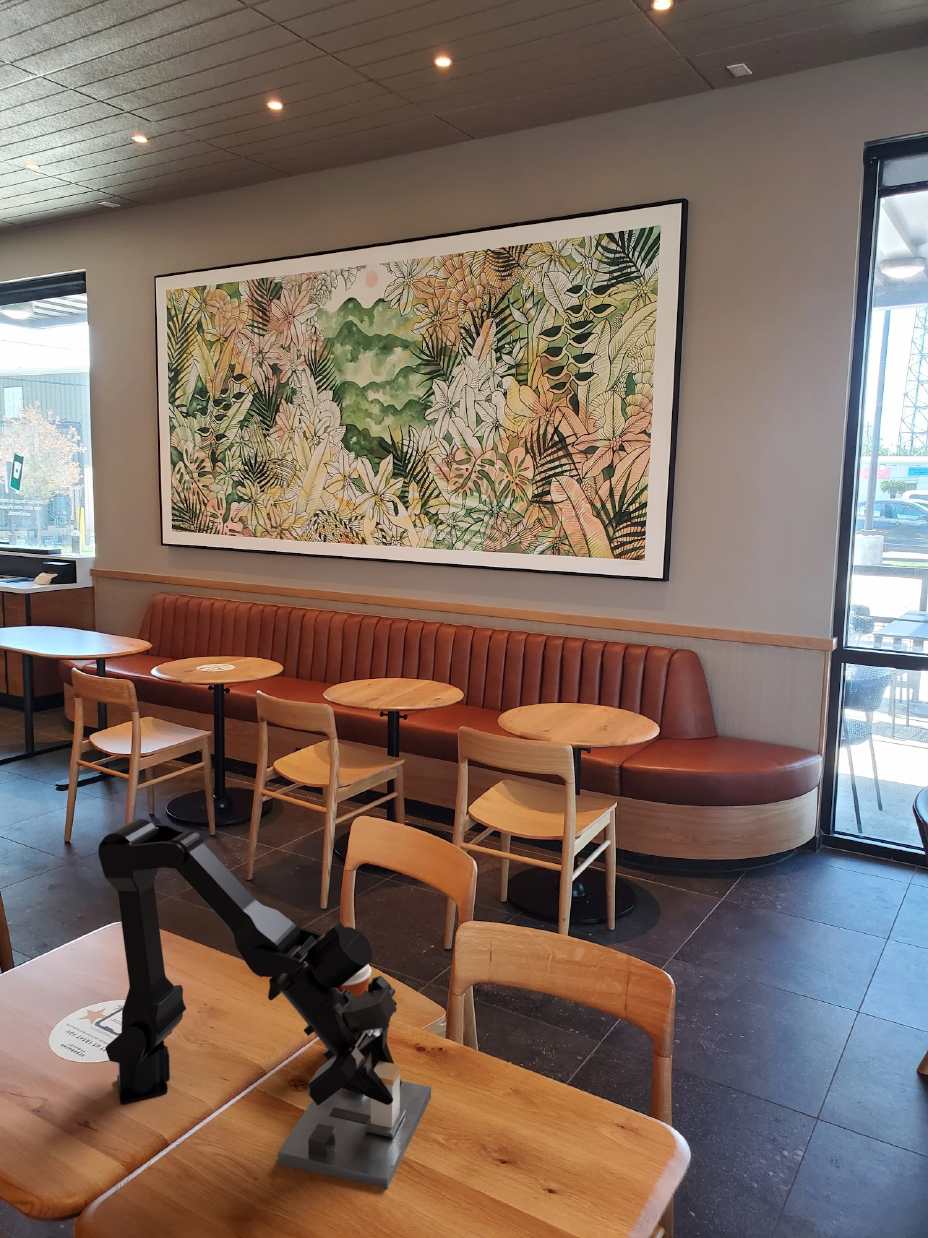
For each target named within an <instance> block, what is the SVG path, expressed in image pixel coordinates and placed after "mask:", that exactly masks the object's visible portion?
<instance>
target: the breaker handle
mask: <svg viewBox="0 0 928 1238" xmlns="http://www.w3.org/2000/svg"><path fill="white" fill-rule="evenodd" d="M374 1071H375V1072H376V1074H377V1075H378V1077H379V1078H380V1079H381V1081H382V1082H383V1083H384V1085H385V1086H386V1088H387V1089H388V1091H389V1092H390V1094H391V1096H392V1097H393V1099H394V1100H393V1102H392V1103H391V1104H389V1105H386V1104H383V1103H381V1102H379V1101H376V1100H374V1099H371V1117H370V1118H369V1120H368V1122H367V1124H366V1126H365V1127H364V1131H367V1132H371V1133H375V1134H380V1135H384V1136H389V1137H393V1136H394V1134H395V1132H396V1130H397V1128H398V1126H399V1124H400V1122H401V1120H402V1118H403V1116H404V1114H405V1109H403V1108H399V1107H400V1079H401V1072H402V1065H401V1064H396V1063H394V1064H392V1063H387V1062H382V1061H379V1062H378V1063H377V1065H376V1067H375V1068H374Z"/></svg>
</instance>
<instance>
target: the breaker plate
mask: <svg viewBox="0 0 928 1238" xmlns="http://www.w3.org/2000/svg"><path fill="white" fill-rule="evenodd" d="M401 1081H402V1085H401V1086H400V1107H399V1108H403V1109H405V1114H404V1116H403V1118H402V1120H401V1122H400V1124H399V1126H398V1128H397V1130H396V1132H395V1134H394V1136H393V1137H389V1136H384V1135H380V1134H375V1133H371V1132H367V1131H364V1127H365V1126H366V1124H367V1122H368V1120H369V1118H370V1117H371V1098H369V1097H367V1096H364V1095H362V1094H359V1093H356V1092H353V1091H350V1090H347V1089H343V1088H341V1089H339V1090H338V1091H337V1092H336V1093H334V1094H333V1095H332V1096H330V1097H329V1098H328V1099H326V1100H325V1101H324V1102H323V1103H321V1104H320V1105H319V1106H317V1105H316V1103H315V1102H314V1101H313V1100H312V1099H311V1100H312V1101H311V1102H310V1103H309V1105H308V1106H307V1107H306V1109H305V1111H304V1112H303V1114H302V1115H301V1117H300V1118H299V1120H298V1121H297V1123H296V1124H295V1126H293V1129H292V1130H291V1132H290V1133H289V1135H288V1136H287V1138H286V1139H285V1141H284V1142H283V1143H282V1146H281V1147H280V1148H279V1150H278V1151H277V1165H278V1166H282V1167H286V1168H289V1169H290V1168H292V1169H295V1170H300V1171H305V1172H308V1173H309V1172H310V1173H314V1174H319V1175H323V1176H328V1177H331V1178H332V1177H333V1178H337V1179H342V1180H347V1181H350V1182H351V1181H352V1182H356V1183H360V1184H364V1185H368V1186H373V1185H374V1187H378V1188H384V1189H388V1188H389V1187H390V1184H391V1182H392V1181H393V1178H394V1176H395V1174H396V1171H397V1170H398V1168H399V1166H400V1164H401V1162H402V1159H403V1157H404V1156H405V1153H406V1151H407V1149H408V1146H409V1144H410V1142H411V1140H412V1139H413V1136H414V1134H415V1132H416V1131H417V1128H418V1125H419V1123H420V1122H421V1119H422V1118H423V1115H424V1114H425V1111H426V1108H427V1106H428V1105H429V1103H430V1101H431V1098H432V1086H428V1085H423V1084H418V1083H413V1082H409V1081H404V1080H401ZM365 1183H366V1184H365Z"/></svg>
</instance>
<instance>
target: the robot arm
mask: <svg viewBox="0 0 928 1238" xmlns="http://www.w3.org/2000/svg"><path fill="white" fill-rule="evenodd" d="M97 848H98V849H97V854H98V858H99V862H100V866H101V869H102V872H103V875H104V878H105V879H106V881H108V883H109V884H110V885H111V886H112V887H113V888H114V890H115V891H116V893H117V899H118V906H119V913H120V914H119V915H120V923H121V930H122V938H123V945H124V954H125V960H126V969H127V974H128V975H127V976H128V985H129V987H128V991H127V995H126V997H125V1001H124V1005H123V1008H122V1010H121V1033H120V1034H119V1035H118V1036H116V1037H115V1038H114V1039H112V1041H110V1042H109V1043H108V1044H107V1045H106V1046H105V1047H104V1048H105V1051H106V1055H107V1057H108V1060H109V1061H110V1062H112V1063H117V1064H118V1066H117V1069H118V1074H117V1075H116V1076H117V1077H116V1078H117V1079H116V1080H117V1088H118V1089H117V1090H118V1097H119V1103H120V1104H122V1105H124V1104H127V1103H132V1102H136V1101H137V1102H138V1101H140V1100H145V1099H148V1098H152V1097H156V1096H161V1095H165V1094H167V1093H168V1092H169V1090H168V1089H169V1088H168V1082H169V1081H170V1080H171V1077H170V1075H171V1074H170V1072H171V1071H170V1070H171V1068H170V1065H171V1064H170V1053H169V1048H168V1047H169V1046H167V1045H165V1041H164V1040H165V1039H167V1037H168V1036H170V1035H172V1033H173V1030H174V1029H175V1028H176V1027H177V1026H178V1025H179V1024H180V1023H181V1021H182V1020H183V1016H184V1012H185V1011H186V1010H187V1006H186V1004H185V1002H184V998H183V997H184V996H183V995H184V989H183V986H182V985H181V984H178V985H177V984H176V985H174V984H173V983H172V982H171V980H169V979H168V977H167V976H166V970H165V963H164V955H163V945H162V939H161V937H162V936H161V929H160V924H159V923H160V922H159V914H158V907H157V899H156V898H157V897H156V891H155V879H156V877H157V873H158V871H159V870H158V869H160V868H161V869H162V868H165V869H175V871H176V872H177V873H178V874H179V875H180V876H181V877H182V878H183V880H185V882H186V883H187V884H188V885H189V886H190V887H191V888H192V889H193V890H194V892H196V894H197V895H198V896H200V898H201V899H202V900H203V901H204V902H205V903H206V904H207V905H208V906H209V908H210V909H211V910H212V911H213V912H214V913H215V914H216V915H217V916H218V917H219V918H220V920H221V921H222V922H223V923H224V924H225V925H226V926H227V928H228V929H229V930H230V931H231V933H232V934H233V935H232V936H233V938H234V942H235V946H236V950H237V952H238V954H239V955H240V957H241V958H242V959H243V961H244V962H245V965H247V967H248V968H249V969H250V971H251V972H252V973H253V974H255V975H256V976H258V977H259V978H263V977H265V978H269V980H268V982H269V989H268V995H267V999H268V1001H273V1000H275V998H277V997H278V996H279V995H280V994H282V995H283V996H284V997H285V998H286V1000H288V1002H289V1003H290V1004H291V1006H292V1007H293V1008H294V1009H295V1011H296V1012H297V1013H298V1015H299V1016H301V1018H302V1019H303V1021H304V1022H305V1023H306V1024H307V1025H306V1026H305V1028H304V1029H303V1032H304V1033H305V1034H306V1036H307V1037H309V1036H310V1035H312V1034H313V1033H314V1034H315V1035H316V1036H317V1038H319V1040H320V1041H321V1042H322V1043H323V1045H324V1046H325V1048H327V1049H326V1050H325V1051H324V1052H323V1054H322V1055H323V1056H324V1057H325V1059H326V1060H327V1061H326V1062H325V1063H324V1064H322V1066H320V1067H319V1068H318V1069H317V1071H316V1072H315V1073H314V1074H313V1076H312V1077H311V1080H309V1082H308V1084H307V1095H308V1096H309V1097H310V1098H311V1100H313V1101H314V1102H315V1103H316V1105H317V1106H319V1105H320V1104H321V1103H323V1102H324V1101H325V1100H326V1099H328V1098H329V1097H330V1096H332V1095H333V1094H334V1093H336V1092H337V1091H338V1090H339V1089H341V1088H343V1089H347V1090H350V1091H353V1092H356V1093H359V1094H362V1095H364V1096H367V1097H369V1098H371V1099H374V1100H376V1101H379V1102H381V1103H383V1104H386V1105H389V1104H391V1103H392V1102H393V1100H394V1099H393V1097H392V1096H391V1094H390V1092H389V1091H388V1089H387V1088H386V1086H385V1085H384V1083H383V1082H382V1081H381V1079H380V1078H379V1077H378V1075H377V1074H376V1072H375V1071H374V1068H375V1067H376V1065H377V1063H378V1062H379V1061H382V1062H387V1063H392V1064H395V1061H394V1060H393V1057H392V1054H391V1051H390V1049H389V1045H388V1032H389V1031H388V1030H389V1028H390V1022H391V1018H392V1016H393V1014H395V1013H396V1012H397V1011H398V1010H397V1005H398V1003H397V1002H396V1000H395V999H394V998H393V997H394V995H395V994H396V989H395V988H394V987H392V985H391V984H390V983H389V982H388V981H387V980H386V978H384V977H383V976H382V975H379V976H374V977H373V978H372V979H371V980H369V984H368V992H367V990H366V991H364V992H363V994H362V995H359V996H354V995H353V994H352V993H351V991H350V990H348V991H347V989H345V990H343V991H342V992H341V993H340V992H339V990H338V989H337V988H338V987H340V986H342V985H343V984H344V983H346V982H347V981H348V980H349V979H350V978H352V977H353V976H354V975H355V974H357V973H358V972H359V971H360V970H362V969H363V968H364V967H365V966H366V965H368V964H370V963H371V962H372V959H373V950H372V946H371V944H370V942H369V939H367V937H366V936H365V935H364V934H363V932H360V931H359V930H357V929H356V928H354V927H351V926H344V925H343V923H342V922H341V921H339V920H338V921H336V923H334V924H333V925H332V926H331V927H330V928H329V929H328V930H327V931H326V932H325V934H322V933H319V932H317V931H314V930H311V929H310V930H309V929H306V928H303V927H300V926H298V925H296V924H295V923H294V922H293V921H291V919H289V918H288V917H286V915H284V914H283V913H282V912H280V911H279V910H278V909H274V908H272V907H270V906H266V905H263V904H262V903H261V902H260V901H258V900H257V899H256V898H255V897H254V896H253V895H252V894H251V893H250V891H248V890H247V888H246V887H244V885H243V884H242V883H241V882H240V881H239V880H238V879H237V878H236V877H235V876H234V875H233V874H232V872H231V871H230V870H229V869H228V868H227V867H226V866H225V865H224V864H223V862H222V861H220V860H219V859H218V857H217V856H216V855H215V854H214V853H213V852H212V851H211V850H210V849H209V848H208V847H207V845H206V844H205V842H204V838H203V837H202V836H201V834H199V832H197V831H193V830H182V829H179V828H178V827H175V826H173V825H172V824H160V823H152V822H151V821H149V820H147V819H144V818H143V819H142V818H140V819H139V818H137V819H134V820H132V821H130V822H129V823H126V824H125V825H124V826H121V827H120V828H118V829H116V830H114V831H113V832H111V833H108V834H107V835H106V836H104V837H103V838H102V840H101V842H99V844H98V847H97ZM350 1048H351V1049H350ZM349 1049H350V1051H349ZM334 1055H335V1056H334ZM333 1056H334V1057H333ZM402 1081H403V1080H401V1078H400V1086H401V1085H402Z"/></svg>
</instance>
